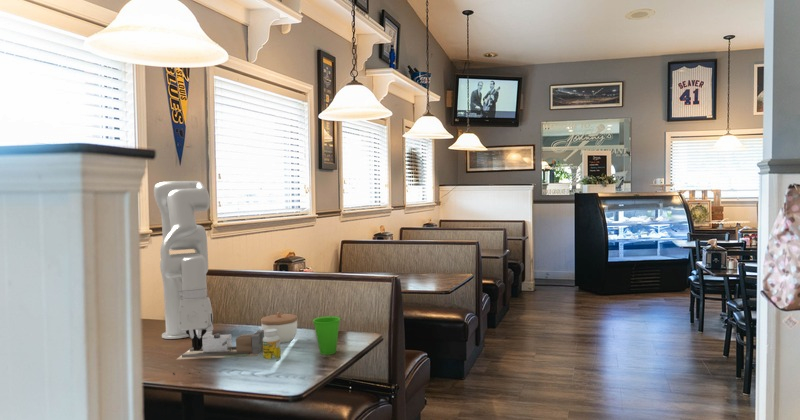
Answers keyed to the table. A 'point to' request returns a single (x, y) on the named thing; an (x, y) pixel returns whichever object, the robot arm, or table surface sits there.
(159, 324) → the table surface
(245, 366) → the table surface
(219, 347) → the knobbed grey slider
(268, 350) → the supplement bottle
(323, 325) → the cup
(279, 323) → the lidded bowl
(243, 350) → the walnut block
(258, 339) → the gauge bed
